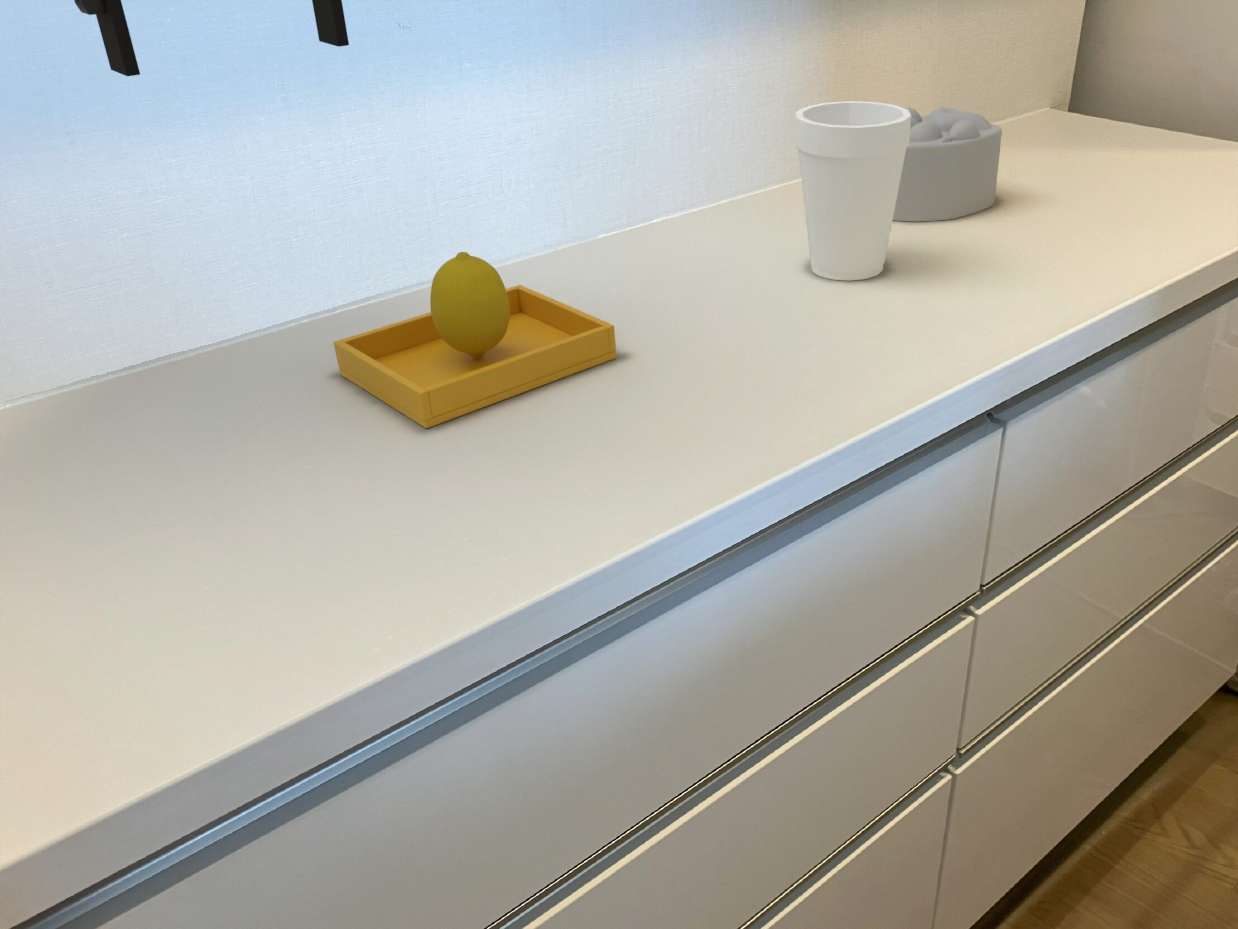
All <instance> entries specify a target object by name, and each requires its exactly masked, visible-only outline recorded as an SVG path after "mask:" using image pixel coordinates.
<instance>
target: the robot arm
mask: <svg viewBox="0 0 1238 929" xmlns="http://www.w3.org/2000/svg"><path fill="white" fill-rule="evenodd" d="M73 1H74V4H75V5H76V7H77V8H78V10H79V11H80V13H83V14H84V15H85V14H86V15H88V16H92V15H95V16H96V20H97V24H98V28H99V31H100V36H101V38H102V39H101V40H102V42H103V46H104V50H105V53H106V57H107V61H108V64H109V68H110V71H114V72H115V73H118V74H121V75H123V76H126V77H134V76H140V75H141V72H140V68H139V65H138V60H137V56H136V53H135V49H134V44H133V42H132V37H131V33H130V29H129V26H128V22H127V18H126V14H125V10H124V7H123V3H122V0H73ZM311 1H312V7H313V8H312V9H313V13H314V14H313V15H314V19H315V25H316V31H317V36H318V41H319V42H320V43H325V44H327V45H331V46H334V47H335V46H336V47H347V46H350V43H349V35H348V30H347V24H346V19H345V13H344V6H343V0H311Z"/></svg>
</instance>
